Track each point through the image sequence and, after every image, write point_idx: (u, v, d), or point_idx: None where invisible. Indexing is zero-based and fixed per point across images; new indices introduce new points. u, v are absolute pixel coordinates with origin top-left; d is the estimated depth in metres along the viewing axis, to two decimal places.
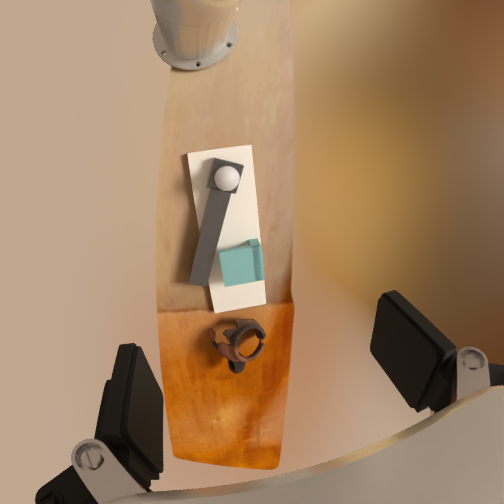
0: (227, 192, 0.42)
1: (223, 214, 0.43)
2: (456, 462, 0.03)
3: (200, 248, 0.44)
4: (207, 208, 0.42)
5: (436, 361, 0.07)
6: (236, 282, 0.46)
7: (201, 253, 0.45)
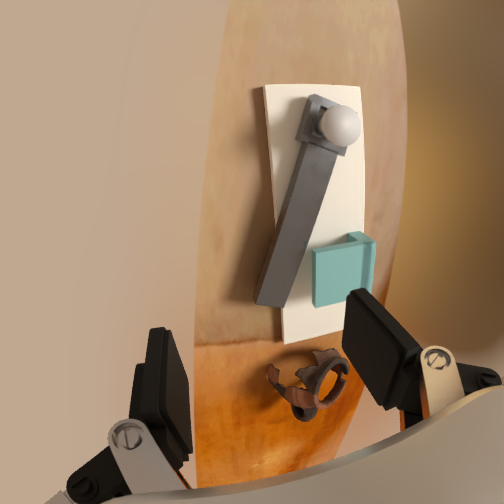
0: (332, 152, 0.24)
1: (323, 188, 0.25)
2: (456, 462, 0.03)
3: (281, 246, 0.26)
4: (299, 176, 0.24)
5: (398, 359, 0.07)
6: (333, 300, 0.28)
7: (281, 254, 0.27)
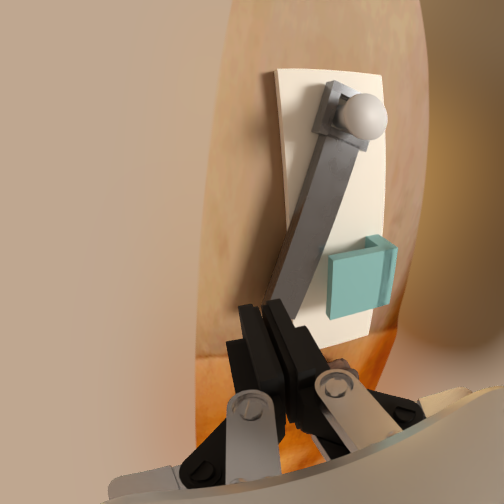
0: (353, 147, 0.20)
1: (342, 187, 0.22)
2: (456, 461, 0.03)
3: (294, 253, 0.23)
4: (316, 174, 0.21)
5: (291, 379, 0.08)
6: (349, 311, 0.25)
7: (294, 261, 0.23)
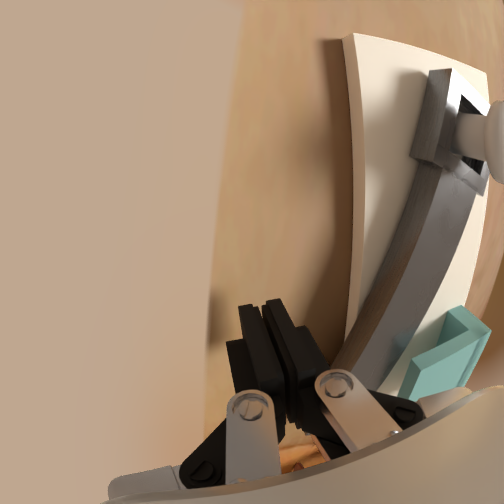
0: (470, 189, 0.10)
1: (449, 256, 0.11)
2: (456, 462, 0.03)
3: (364, 362, 0.13)
4: (421, 238, 0.10)
5: (291, 379, 0.08)
6: None
7: (362, 373, 0.13)
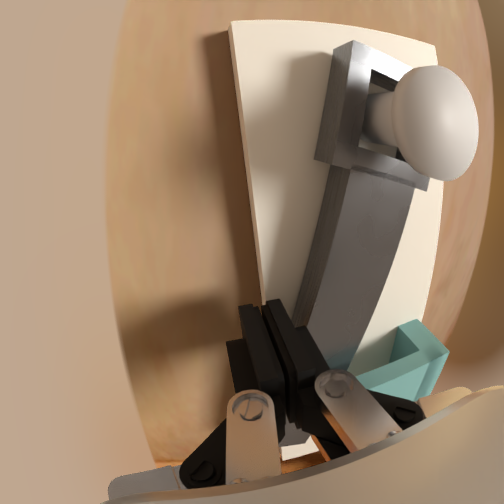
0: (404, 185, 0.09)
1: (383, 269, 0.10)
2: (456, 462, 0.03)
3: None
4: (332, 256, 0.10)
5: (291, 379, 0.08)
6: None
7: None
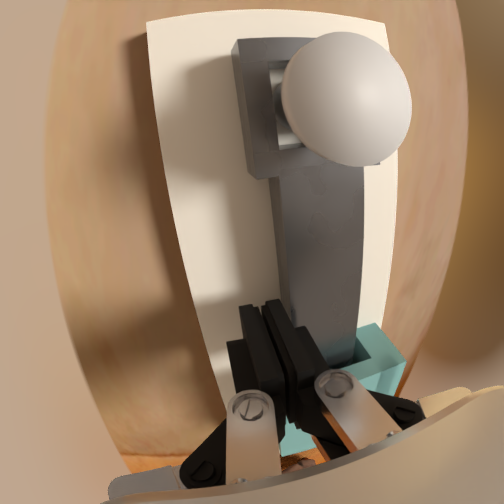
0: (349, 169, 0.09)
1: (355, 257, 0.10)
2: (456, 462, 0.03)
3: None
4: (291, 263, 0.10)
5: (291, 379, 0.08)
6: (313, 445, 0.14)
7: None
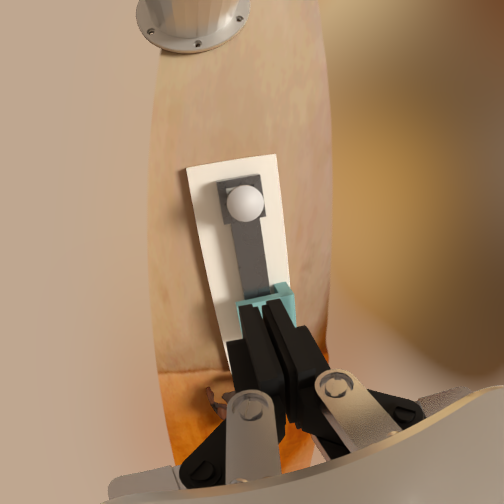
0: (254, 219, 0.30)
1: (260, 248, 0.31)
2: (456, 461, 0.03)
3: None
4: (237, 250, 0.31)
5: (291, 379, 0.08)
6: None
7: None
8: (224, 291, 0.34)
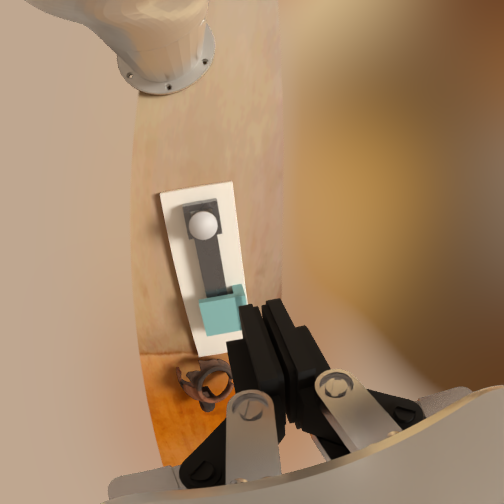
0: None
1: (218, 258, 0.39)
2: (456, 462, 0.03)
3: None
4: (199, 259, 0.38)
5: (291, 379, 0.08)
6: (219, 332, 0.42)
7: None
8: (191, 290, 0.42)
